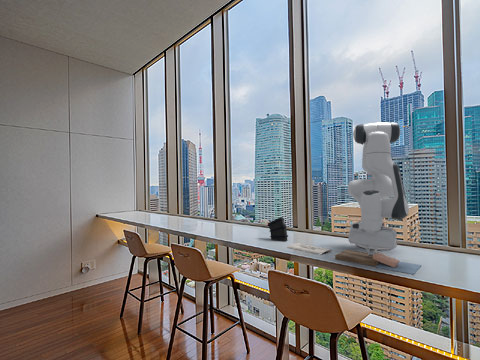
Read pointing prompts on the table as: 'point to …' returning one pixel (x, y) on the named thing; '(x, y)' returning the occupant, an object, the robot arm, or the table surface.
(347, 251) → the deck
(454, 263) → the table surface
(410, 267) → the mat
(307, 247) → the newspaper
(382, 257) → the salmon pink block
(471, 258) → the table surface
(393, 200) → the robot arm
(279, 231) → the black folded cloth
